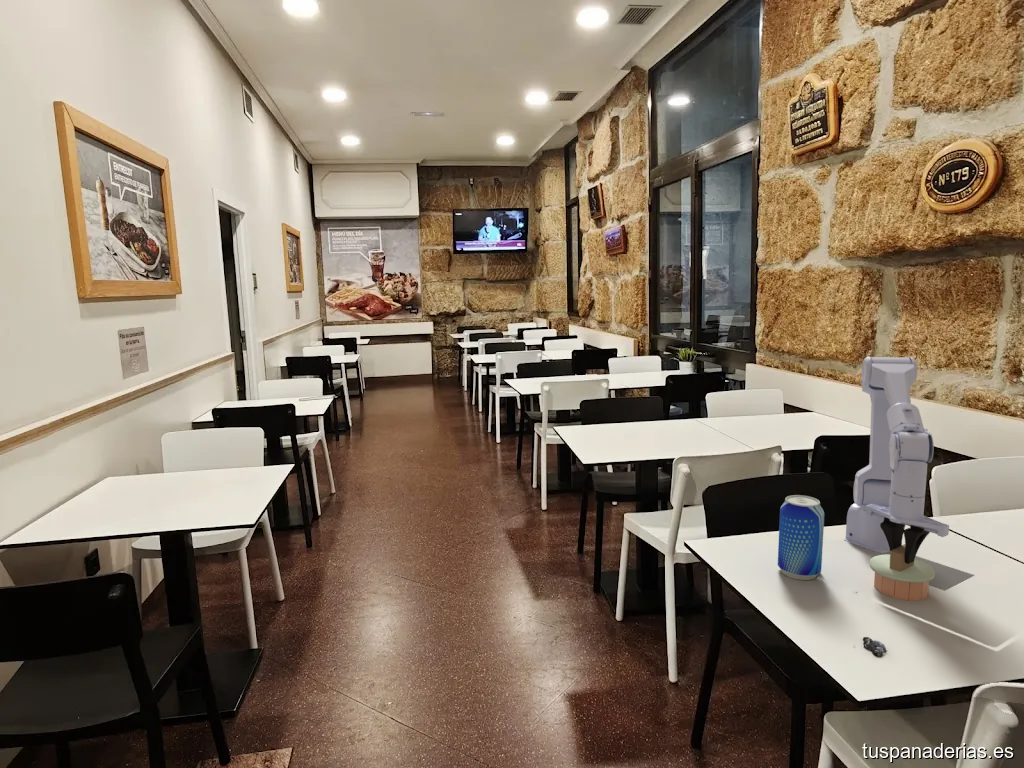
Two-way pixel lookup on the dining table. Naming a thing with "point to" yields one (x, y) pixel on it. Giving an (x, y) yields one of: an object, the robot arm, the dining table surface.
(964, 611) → the dining table surface
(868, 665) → the dining table surface
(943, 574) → the mat
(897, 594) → the bowl
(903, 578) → the lid
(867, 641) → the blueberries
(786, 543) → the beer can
